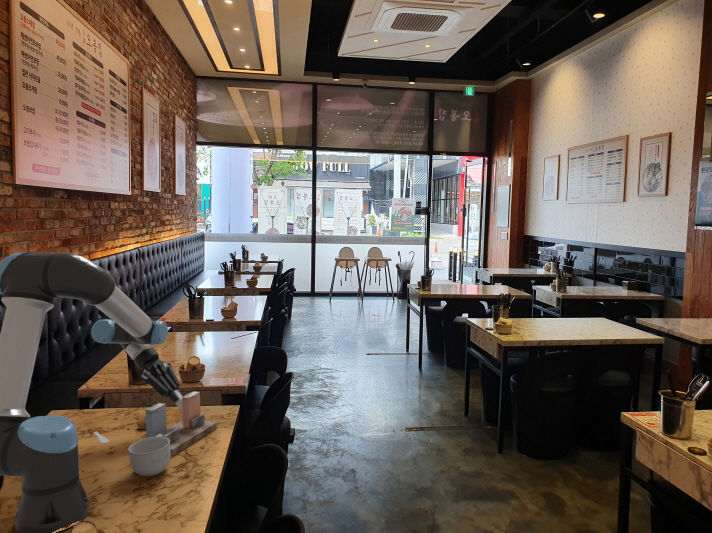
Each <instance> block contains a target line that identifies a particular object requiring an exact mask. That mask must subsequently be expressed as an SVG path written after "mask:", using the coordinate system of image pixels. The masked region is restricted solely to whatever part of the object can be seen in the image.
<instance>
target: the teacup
mask: <svg viewBox="0 0 712 533" xmlns="http://www.w3.org/2000/svg"><path fill="white" fill-rule="evenodd" d="M127 450H128V454H129V462H130V466H131V469H132V471H133V472H134V473H135V474H138V475H139V476H141V477H152V476H153V477H154V476H156V475H159V474H160V473H162V472H164V470H165V469H166V468H167V467H168V466H169V465H170V462H171V457H172V456H171V453H170V440H169V439H168V438H166V437H163V435H162V434H158V435H157V436H156V437H149V438H147V437H145V438H141V439H140V440H137V441H134V442H133V443H131V444H130V445H129V446H128V448H127Z"/></svg>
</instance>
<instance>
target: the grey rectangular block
mask: <svg viewBox="0 0 712 533" xmlns="http://www.w3.org/2000/svg"><path fill="white" fill-rule="evenodd" d="M166 404H167V403H163V402H162V403H161V402H158V403H157V404H153V405H152V406H150V407H148V408H146V409H145V416H146V429H145V430H146V432H145V433H146V438H149V437H156V436H157V435H158V434H162V435H163V436H164V435H166V434H167V428H168V427H167V407H166V406H167V405H166Z"/></svg>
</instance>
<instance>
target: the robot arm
mask: <svg viewBox="0 0 712 533" xmlns="http://www.w3.org/2000/svg"><path fill="white" fill-rule="evenodd" d="M0 295H1V298H0V300H1V302H2V304H3V305H4V306H5V308H6V309H5V313H4V318H3V321H2V326H1V329H0V476H3V477H4V476H5V477H20V478H21V488H22V493H21V496H20V497H21V498H20V499H19V500H20V501H19V504H18V509H17V511H16V513H15V516H14V527H15V531H16V532H17V533H52V532H54V531H56V530H58V529H60V528H63V527H66V526H68V525H71V524H72V523H75V522H77V521H80V520H82V521H83V520H84V519H86V517H87V516H88V514H89V513H90V501H89V498H88V496H87V493H86V491H85V488H84V486H83V484H82V482H81V479H80V463H79V437H78V431H77V425H76V424H75V422H74V421H73V420H71V419H70V418H68V417H66V416H62V415H55V414H53V415H52V414H51V415H49V414H48V415H47V414H46V416H45V415H43V416H42V415H39V416H34V417H31V415H30V414H29V413H28V411H27V410H26V404H27V400H28V394H29V389H30V385H31V381H32V377H33V373H34V367H35V363H36V358H37V353H38V349H39V344H40V340H41V337H42V336H41V335H42V332H43V327H44V322H45V318H46V313H47V312H49V311H51V310H52V309H53V308H54V306H55V302H56V299H58V298H59V299H63V298H65V299H74V300H80V301H82V302H83V303H84V304H86V305H88V306H94V307H96V308H97V309H98V310H99V311H101V312H102V313H104V315H106V316H107V317H108V319H107V318H105V319H99V320H97V321H95V323H93V325H92V327H91V330H90V335H91V338H92V339H93V340H94V342H96V343H100V344H102V345H103V344H119V345H120V346H121V347H122V348H123V350H124V352H126V353H127V354H128V356H129V357H130V359H131V360H133V363H134V364H135V366H136V367H137V368H138V369H140V370H141V371H142V374H141V376H140V379H141V380H143V381H145V382H146V383H147V384H148V385H149V386H150V387H152V389H153V390H155V391H156V392H157V393H158V394H159V395H160V396H162V397H165V398H168V397H169V399H170V400H171V401H172V402H173V403H174V404H175V405H176V406H177V407H178V409H179V410H180V411H181V412H182V397H183V396H184V395H183V394H182V392H181V391H180V390H179V388H180V387H181V383H180V381H179V379H178V378H177V376H176V374H175V372H174V370H173V368H172V363H171V362H167V363H164V361H163V360H161V359H160V354H159V353H158V352H157V351H156V349H155V348H154V347H153V346H154V345H163V344H164V343H165V342H166V340H167V338H168V332H169V331H168V330H169V329H168V325H167V323H166V322H165V321H163V320H153V318H150V316H148V315H147V313H146V312H144V311H143V310H142V309H141V308H140V307H139V306H138V305H137V304H136V302H134V301H133V300H132V299H131V298H129V297H128V295H127V294H125V293H124V292H123V291H122V290H121V289H120V288H119V287H118V286H117V284H116V280H115V278H114V276H112V275H111V274H110V273H109V272H108V271H107V270H105V269H104V268H103V267H102V266H100V265H98V264H97V263H95V262H94V261H93V260H90V259H88V258H86V257H84V256H81V255H79V254H77V253H71V252H45V251H44V252H42V251H41V252H39V251H38V252H37V251H24V252H15V253H12V254H9V255H8V256H6V257H5V258H3V260H1V261H0Z"/></svg>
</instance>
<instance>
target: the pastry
mask: <svg viewBox="0 0 712 533" xmlns="http://www.w3.org/2000/svg"><path fill="white" fill-rule="evenodd" d="M137 429H140V430H146V415H144V417H143V418H141V420H139V422H138V423H137Z"/></svg>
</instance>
